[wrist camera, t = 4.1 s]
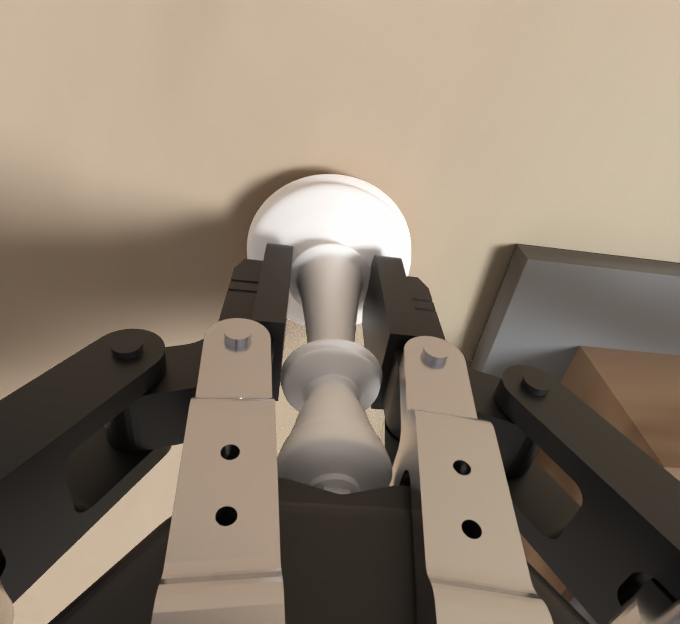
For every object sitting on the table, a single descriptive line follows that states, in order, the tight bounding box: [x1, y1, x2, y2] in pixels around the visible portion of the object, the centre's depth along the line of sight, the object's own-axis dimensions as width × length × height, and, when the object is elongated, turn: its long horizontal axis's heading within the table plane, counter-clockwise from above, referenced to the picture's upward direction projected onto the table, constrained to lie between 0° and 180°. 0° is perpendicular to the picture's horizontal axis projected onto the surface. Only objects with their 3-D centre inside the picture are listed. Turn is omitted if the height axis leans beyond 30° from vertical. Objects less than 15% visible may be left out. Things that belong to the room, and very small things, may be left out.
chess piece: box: [247, 174, 411, 494], centre depth 11 cm, size 5×5×10 cm
